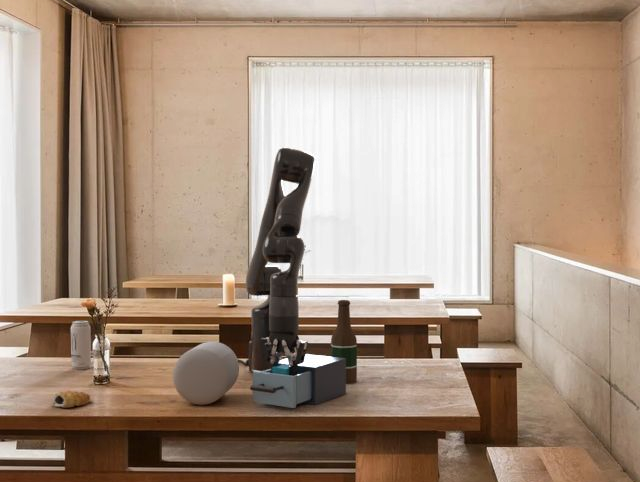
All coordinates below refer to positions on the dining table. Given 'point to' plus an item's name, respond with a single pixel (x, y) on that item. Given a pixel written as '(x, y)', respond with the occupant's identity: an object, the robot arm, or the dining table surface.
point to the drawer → (282, 388)
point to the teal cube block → (281, 369)
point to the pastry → (70, 399)
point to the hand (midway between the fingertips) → (284, 378)
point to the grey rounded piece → (205, 373)
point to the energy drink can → (80, 345)
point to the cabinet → (324, 376)
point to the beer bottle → (345, 341)
